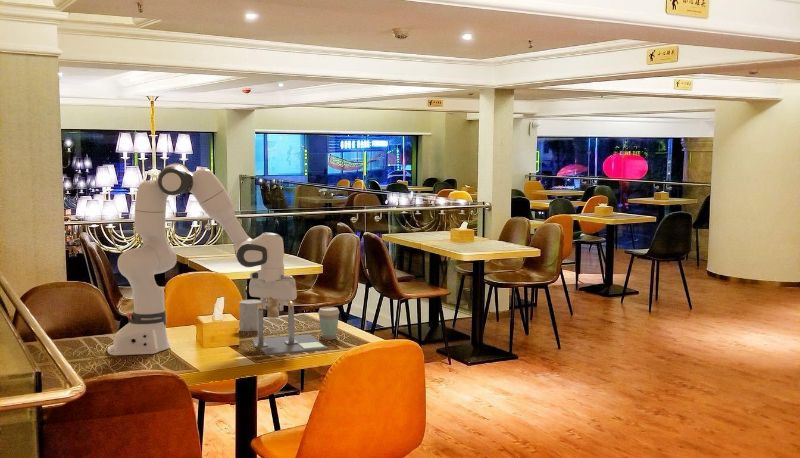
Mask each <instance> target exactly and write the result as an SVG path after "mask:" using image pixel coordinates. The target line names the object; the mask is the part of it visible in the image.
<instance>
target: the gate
mask: <svg viewBox="0 0 800 458" xmlns="http://www.w3.org/2000/svg"><path fill="white" fill-rule="evenodd" d="M287 305H288V310H287V311H288V312H287V313H288V314H287V315H288V316H287V317H288V318H287V323H288V326H287V327H288V328H287V329H288V330H287V332H288V335H287V336H288V337H289V341H284V343H286V344H287V345H294V344H298V342H297V341H296V340H294V336H295V307H294V306H295V303H294V302H293V301H289V302H288V304H287ZM257 308H258V309H259V310H257V323H258V330H257V339H258V343H256V344H255V343H253V346H254V348H257V349H260V348H261V347H268V345H267V344H266V343H264V341H263V338H264V309H263V304H259V305H258V306H257Z"/></svg>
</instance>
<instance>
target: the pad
mask: <svg viewBox="0 0 800 458" xmlns="http://www.w3.org/2000/svg"><path fill="white" fill-rule="evenodd" d="M320 342H321V341H320ZM320 342H310V343H299V345H300V346H301V347H302V348H303V349H314V348H325V346H326V345H325V346H323V345H322V344H323V343H322V342H321V343H322V344H321V343H320Z"/></svg>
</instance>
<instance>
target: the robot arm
mask: <svg viewBox="0 0 800 458" xmlns="http://www.w3.org/2000/svg"><path fill="white" fill-rule="evenodd" d="M186 193H187V194H189V193H190V194H192V195H193V196H194V198H195V199H196V201H197V202H198V204H199V206H200V207H201V208H202V210H203V211H204V212H205V213H206V214H207V216H208V217H209V218H211V220H213V221H215V222H217V223H218V224H219V225H220V226H221V227H222V228H223V230H224V231H225V233H226V234H227V236H228V237H229V239H230V240H231V241H232V244H233V248H234V255H235V257H236V261H237V262H238V263H239V264H240V265H241V266H243V267H245V268H253V267H258V266H260V269H259V270H257V271H254V272H250V273H249V277H250V280H249V284H248V293H249V296H250V297H253V298H259V300H261V302H262V305H263V309H262V310H267V297H272V298H273V299H279V306H278V311H279V312H282V311H284V306H285V304H286V302H287V301H289V302H292V301H294V300H296V299H297V297H298V294H297V291H298V290H297V283H296V279H295V278H294V277H293V276H292V275H285V263H284V258H285V248H284V239H283V237H282V236H281V235H280V234H278V233H274V232H269V231H268V232H266V231H265V232H262V233H261V234H260V235H258V236H256V237H255V238H252V237H251V236H250V235H248V234H247V233H246V231H245V230H244V228H243V226H242V224H241V223H240V221H239V220H238V218H237V216H236V214H235V210H234V205H233V202H232V199H231V197H230V195H229V193H228V191H227V189H226V188H225V186H224V185H223V184H222V182H221V180H220V179H219V178H218V177H217V176H216V175H215V174H214V173H213V171H212V170H210V169H209V168H199V169H196V170H195V171H191V170H190V169H189V167H187V166H186V165H185V164H183V163H179V162H173V163H171V164H168V165H166V166H165V167H163V168H162V170H161V171H160V172H159V173H158V176H157V179H149V180H145V181H143V182H141V183H140V184H139V186H138V187H137V192H136V196H135V205H134V221H133V222H134V224H133V229H134V231H135V233H136V234H138V236H140V238H141V240H142V247H134V248H130V249H129V250H126V251H124V252H122V253H121V254H120V255H119V256H118V258H117V268H118V271H119V273H120V274H121V276H123V277H125V278H126V280H127V281H128V283H129V285H130V287H131V291H132V295H133V296H132V298H133V311H132V312H131V311H128V312H126V317H127V318H128V323H127V324H125V325H124V326H123V327H122V328H120V329H119V330H118V331H116V332H115V335H114V338H113V344H111V345H109V346H108V347H107V353H108V355H110V356H128V355H129V356H132V355H134V356H136V355H149V354H150V355H154V354H157V353H160V352H162V351H165V350H167V349H170V347H171V345H170V343H169V338H168V334H167V328H166V325H167V313H166V310H165V292H164V289H163V288H162V287H161V286H159V285H158V284H157V281H156V279H155V275H158V274H163V273H165V272H168V271H169V270H171V269H173V268H174V267H175V266H176V264H177V262H178V260H177V259H178V256H177V252H176V251H175V248H173V247H172V246H171V245H170V243H169V241H168V238H167V234H166V213H167V212H166V211H167V200H168V197H169V196H178V195H183V194H186Z"/></svg>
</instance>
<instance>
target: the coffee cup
mask: <svg viewBox="0 0 800 458" xmlns="http://www.w3.org/2000/svg"><path fill="white" fill-rule="evenodd" d="M317 314H318V317H319V318H318V320H319V327H320V334H321V338H323V339H324V340H326V341H327V340H328V341H332V340H336V339H337V335H338V326H339V325H338V324H339V318H340V317H339V316H340V315H339V314H340V310H339V308H338V307H335V306H324V307H319V309H318V312H317Z"/></svg>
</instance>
